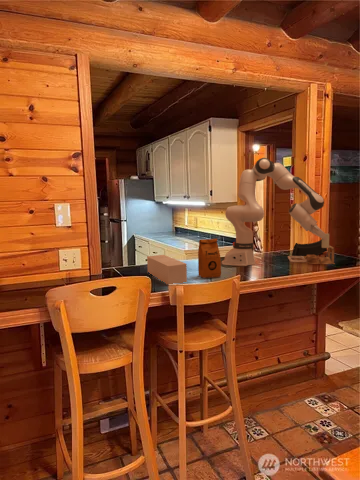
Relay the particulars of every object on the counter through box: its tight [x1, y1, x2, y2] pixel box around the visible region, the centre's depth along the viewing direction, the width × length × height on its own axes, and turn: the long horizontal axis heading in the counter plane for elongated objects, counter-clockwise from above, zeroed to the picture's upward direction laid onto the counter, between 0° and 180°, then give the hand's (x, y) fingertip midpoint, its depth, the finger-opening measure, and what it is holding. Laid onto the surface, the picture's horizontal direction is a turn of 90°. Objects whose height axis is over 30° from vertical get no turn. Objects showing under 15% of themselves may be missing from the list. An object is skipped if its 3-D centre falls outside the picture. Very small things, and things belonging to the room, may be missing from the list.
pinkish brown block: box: [146, 254, 188, 285], centre depth 187 cm, size 32×11×11 cm, turn 26°
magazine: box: [291, 238, 328, 257], centre depth 240 cm, size 17×3×30 cm
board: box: [321, 233, 330, 249], centre depth 209 cm, size 4×2×9 cm, turn 79°
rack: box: [307, 245, 335, 265], centre depth 212 cm, size 16×11×11 cm
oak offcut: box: [306, 255, 318, 259], centre depth 213 cm, size 5×4×2 cm
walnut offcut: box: [305, 256, 318, 264], centre depth 213 cm, size 6×5×3 cm
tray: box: [287, 255, 307, 263], centre depth 221 cm, size 10×14×2 cm
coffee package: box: [197, 238, 222, 279], centre depth 186 cm, size 10×12×22 cm
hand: (325, 239), depth 209 cm, fingers closed on board, 2 cm apart
